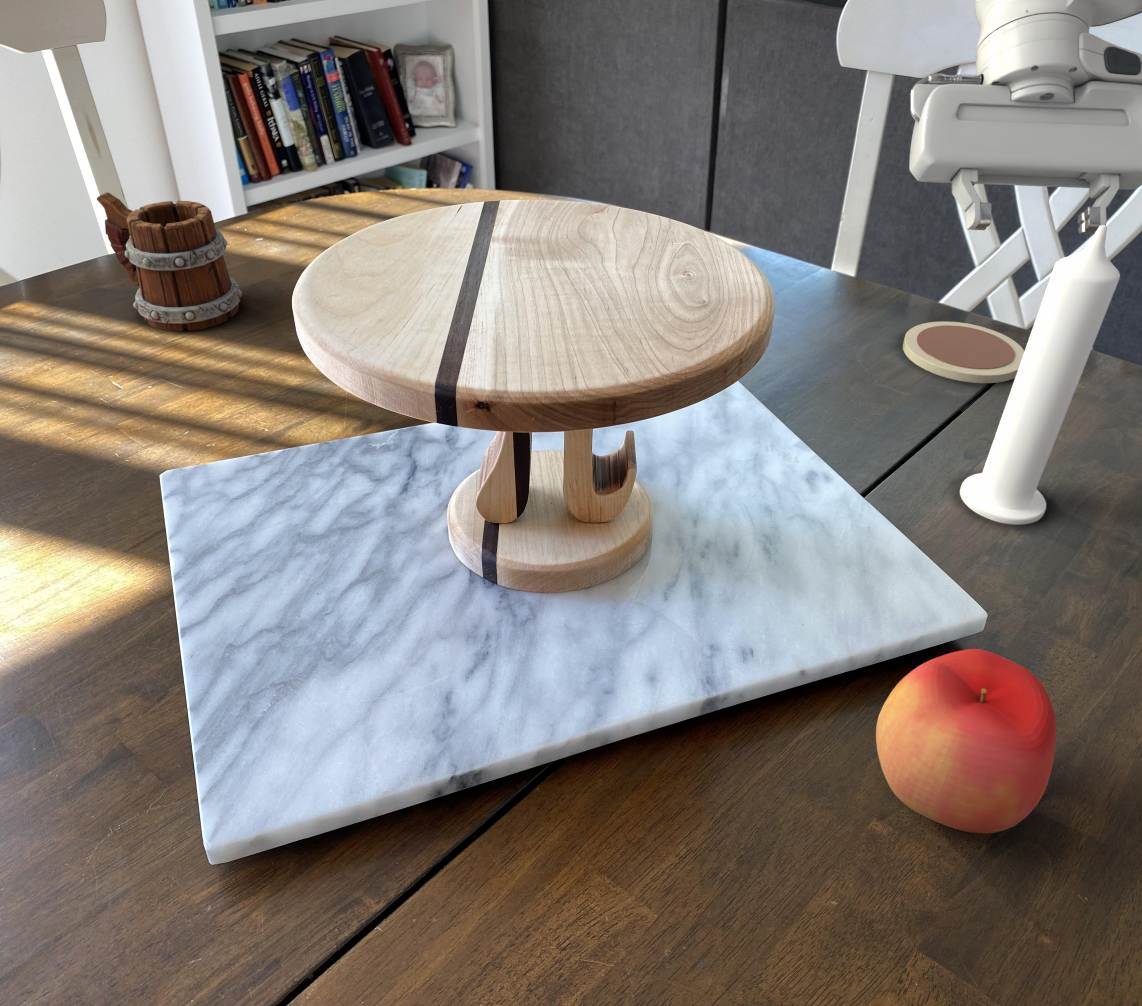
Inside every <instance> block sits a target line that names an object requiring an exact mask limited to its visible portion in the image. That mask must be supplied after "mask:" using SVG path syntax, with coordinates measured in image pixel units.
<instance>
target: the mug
mask: <svg viewBox="0 0 1142 1006" xmlns="http://www.w3.org/2000/svg"><path fill="white" fill-rule="evenodd" d="M96 201H97V202H98V203H99V204H100V205H101V206H102V208H103V209H104V212H105V215H106V219H105V220H104V229H105V231H104V232H105V235H106V236H107V239H108V241H109V242H110V247H111V249H112V250H113V252H114V253H115V257H116V258H117V260H118V263H119V264H120V265H122V266H123V268H124V269H125V270H126V274H127V277H128V280H129V283H130V284H132V285H135V286H136V287H139V288H138V289H137V291H136V294H135V295H134V300H135V301H134V302H133V304H132V305H133V308H135V310H137V311H138V313H139V315H140V316H141V317H143V318H144V320H145V322H146V323H147V324H148V325H150V326H151V327H152V328H155V329H160V330H164V331H171V332H173V331H174V332H182V331H185V329H186V330H188V331H195V330H202V329H203V330H204V329H207V328H211V327H213V326H214V327H215V326H217V325H220V324H221V323H224V322H226V321H228V320H229V318H232V317H234V316H235V315H236V314H237V313H238V312H239V307H240V304H239V303H240V302H241V297H242V295H243V292H242V290H241V289H240V287H239V284H238V282H237V281H236V280H235V278H234V277H231V276H230V273H229V270H228V268H227V264H226V260H225V256H224V254H225V252H226V249H227V246H228V241H227V239H226V238H225V237H224V234H223V233H222V231H221V230H220V229H219V228H216V225H215V221H214V217H213V213H212V211H211V209H210V208H209V207H208V206H206V205H205V204H203V203H200V202H197V201H191V200H176V203H174V202H173V201H172V200H168V201H160V202H154V203H149V204H146V205H143V206H140V207H139V208H138V209H137V208H136V209H134V210H132V209H129V208H128V207H127V206H126V204H124V203H123V202H122V201H121V200H120V199H119V198H118V197H116V196H115V195H113V194H112V193H110V192H108V191H106V192H104V193H102V194H100V195H99V196H97V197H96Z"/></svg>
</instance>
